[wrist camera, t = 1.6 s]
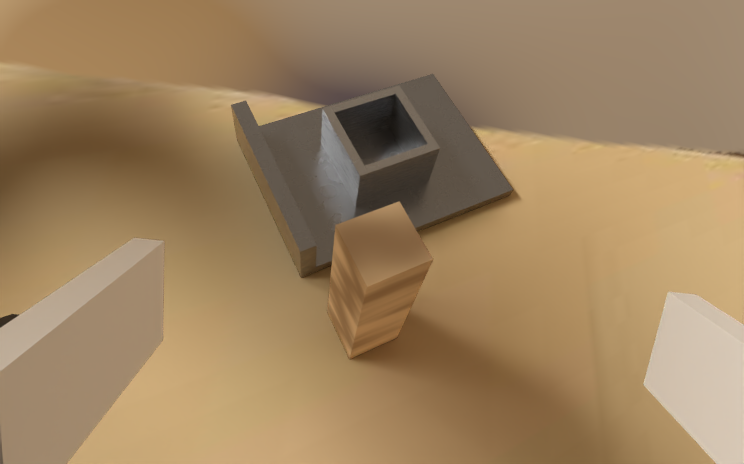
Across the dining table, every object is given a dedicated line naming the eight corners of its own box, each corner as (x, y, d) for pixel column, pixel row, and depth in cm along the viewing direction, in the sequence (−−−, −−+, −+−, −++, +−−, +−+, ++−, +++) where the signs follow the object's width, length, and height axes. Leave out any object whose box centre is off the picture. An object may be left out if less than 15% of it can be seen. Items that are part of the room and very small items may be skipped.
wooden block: (327, 312, 47) (335, 225, 33) (373, 292, 48) (399, 201, 35) (349, 359, 45) (367, 286, 32) (397, 337, 46) (433, 259, 33)
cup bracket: (237, 139, 54) (229, 97, 49) (431, 80, 60) (443, 37, 55) (300, 277, 48) (300, 245, 43) (509, 195, 54) (531, 158, 49)
